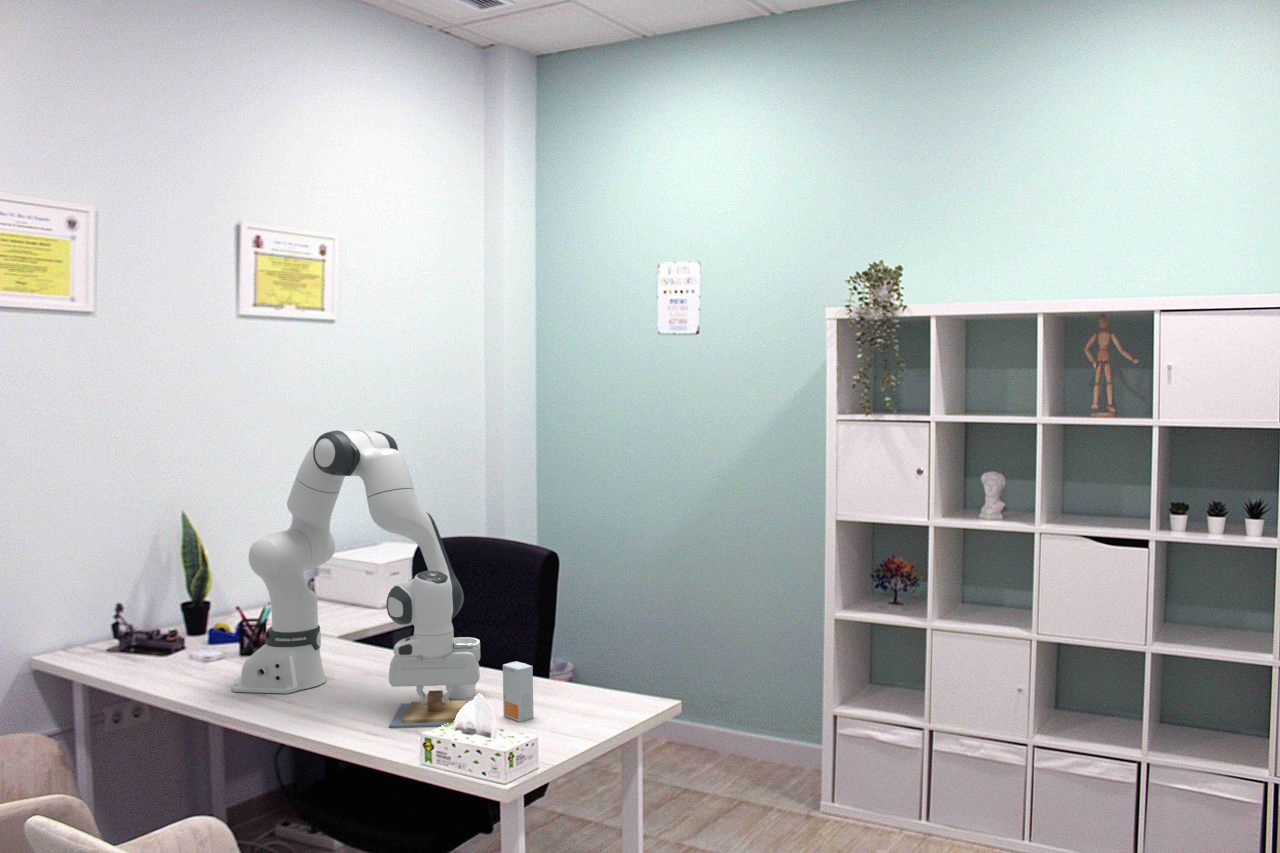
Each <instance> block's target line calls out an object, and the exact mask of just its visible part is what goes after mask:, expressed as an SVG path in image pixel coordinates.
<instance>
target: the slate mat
mask: <svg viewBox="0 0 1280 853" xmlns="http://www.w3.org/2000/svg"><path fill="white" fill-rule="evenodd" d="M410 703H411V702H408V703H407V702H404V703H401V704H400V706H399V707H398V710H397V711H396V713H395V715H394V716H393V717H392V720H391V722H390V723H389V725H388V728H389V729H395V728H396V729H398V728H399V729H400V728H401V729H402V728H405V729H407V728H434V727H435V728H438V727H439V726H441V725H444V724H447V723H450V722H429V723H402V721H401V720H402V718H403V716H404V714H405V712H406V711H407V709H408V707H409V705H410Z"/></svg>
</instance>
